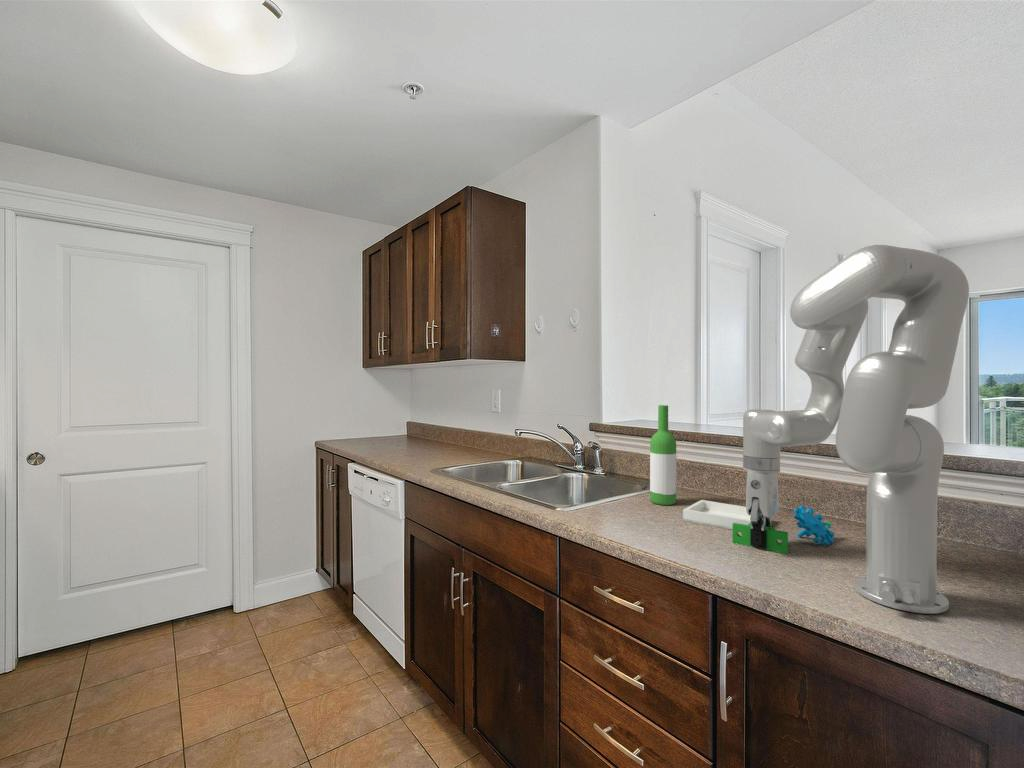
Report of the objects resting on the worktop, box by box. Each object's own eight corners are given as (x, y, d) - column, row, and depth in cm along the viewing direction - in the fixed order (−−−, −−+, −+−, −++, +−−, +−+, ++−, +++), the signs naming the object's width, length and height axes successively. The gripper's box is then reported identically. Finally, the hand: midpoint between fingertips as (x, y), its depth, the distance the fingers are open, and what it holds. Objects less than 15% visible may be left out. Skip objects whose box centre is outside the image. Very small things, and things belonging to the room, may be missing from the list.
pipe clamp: (790, 549, 107) (790, 529, 107) (786, 554, 105) (787, 533, 105) (736, 538, 115) (737, 519, 115) (732, 542, 112) (732, 523, 112)
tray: (756, 534, 118) (756, 522, 118) (683, 520, 129) (683, 509, 129) (770, 521, 128) (770, 510, 128) (701, 510, 140) (701, 499, 140)
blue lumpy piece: (814, 542, 107) (789, 503, 114) (795, 555, 111) (772, 516, 118) (848, 543, 111) (822, 505, 118) (829, 555, 115) (804, 518, 122)
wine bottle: (655, 498, 154) (655, 404, 154) (679, 501, 149) (679, 405, 149) (646, 503, 148) (646, 405, 147) (671, 507, 143) (671, 406, 143)
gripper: (770, 471, 101) (770, 558, 101) (787, 461, 113) (787, 538, 113) (732, 467, 106) (732, 550, 106) (753, 457, 118) (753, 532, 118)
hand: (761, 543), depth 110 cm, fingers closed on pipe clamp, 3 cm apart
